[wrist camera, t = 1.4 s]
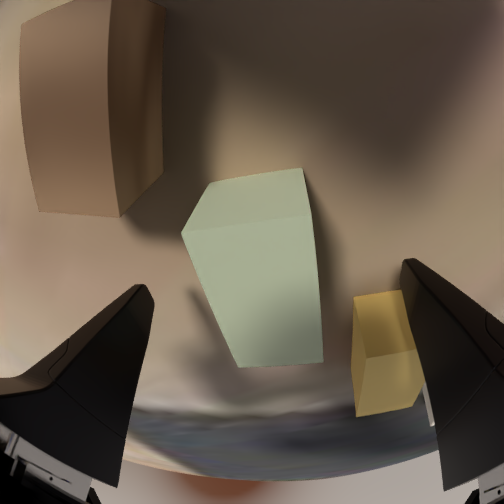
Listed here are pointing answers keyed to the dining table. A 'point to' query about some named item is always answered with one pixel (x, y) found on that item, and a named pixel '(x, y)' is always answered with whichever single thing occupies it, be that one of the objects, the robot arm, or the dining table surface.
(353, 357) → the mustard brick
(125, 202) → the walnut brick
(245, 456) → the dining table surface
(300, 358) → the sage brick
